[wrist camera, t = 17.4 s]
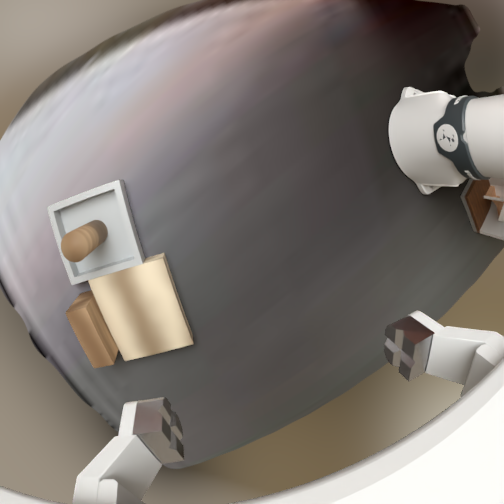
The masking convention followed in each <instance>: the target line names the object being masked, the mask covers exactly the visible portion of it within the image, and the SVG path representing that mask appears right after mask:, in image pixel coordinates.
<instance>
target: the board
mask: <svg viewBox="0 0 504 504" xmlns="http://www.w3.org/2000/svg"><path fill="white" fill-rule="evenodd" d="M88 282H89V284H90V287H91V289H92V292H93V294H94V297H95V299H96V302H97V304H98V306H99V309H100V311H101V313H102V315H103V318H104V320H105V322H106V324H107V326H108V328H109V330H110V333H111V335H112V337H113V339H114V341H115V343H116V345H117V347H118V349H119V351H120V353H121V354H122V356H123V358H124V360H125V361H128V360H132V359H137V358H141V357H145V356H149V355H153V354H157V353H161V352H165V351H169V350H173V349H177V348H181V347H185V346H188V345H192V344H194V343H193V335H192V332H191V329H190V326H189V324H188V321H187V318H186V316H185V313H184V310H183V307H182V305H181V302H180V299H179V296H178V293H177V290H176V287H175V284H174V281H173V278H172V275H171V272H170V269H169V266H168V263H167V260H166V257H165V253H162V254H159V255H155V256H152V257H148V258H145V260H144V262H143V264H141V265H137V266H134V267H130V268H127V269H124V270H120V271H117V272H114V273H110V274H107V275H104V276H100V277H97V278H94V279H90V280H88Z"/></svg>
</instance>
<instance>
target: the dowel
mask: <svg viewBox="0 0 504 504" xmlns="http://www.w3.org/2000/svg"><path fill="white" fill-rule="evenodd" d="M107 235H108V230H107V227H106V225H105V224H104V223H103V222H102V221H100V220H93V221H91V222H89V223H87V224H85V225H83V226H80V227H78V228H76V229H74V230H72V231H70V232H68V233H67V234H65V235H64V237H63V238H62V241H61V250H62V253H63V255H64V257H65V258H66V259H67V260H69V261H71V262H80V261H82V260H83V259H84V258H85V257H86V256H88V255H89V254H90V253H91V252H92V251H93V250H95V249H96V248H97V247H98V246H99V245H101V244H102V243H103V242H104V241H105V240H106V238H107Z"/></svg>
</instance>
